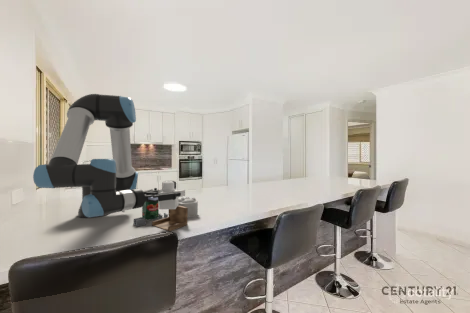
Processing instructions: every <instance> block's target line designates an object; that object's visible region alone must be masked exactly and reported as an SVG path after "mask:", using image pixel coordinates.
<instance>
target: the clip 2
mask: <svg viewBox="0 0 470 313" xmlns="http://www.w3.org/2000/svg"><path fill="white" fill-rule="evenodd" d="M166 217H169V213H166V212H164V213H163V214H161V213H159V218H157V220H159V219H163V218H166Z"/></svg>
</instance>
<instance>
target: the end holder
mask: <svg viewBox="0 0 470 313" xmlns="http://www.w3.org/2000/svg"><path fill="white" fill-rule="evenodd" d="M188 218H189V217H188V207H183V206H177V208H176V209H168V217H166V218H163V219H159V220H158V219H155V220H151V226H153V227H155V226H156V227H155V228H159V229H161V230H165V231H168V232H171V231H175V230H178V229H181V228H183V227H186V226H188V223H189V221H188V220H189V219H188Z"/></svg>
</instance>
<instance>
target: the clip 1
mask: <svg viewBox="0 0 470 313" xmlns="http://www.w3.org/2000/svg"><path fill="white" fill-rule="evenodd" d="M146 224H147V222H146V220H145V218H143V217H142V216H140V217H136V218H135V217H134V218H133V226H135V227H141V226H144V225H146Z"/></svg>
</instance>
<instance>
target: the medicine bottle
mask: <svg viewBox="0 0 470 313" xmlns="http://www.w3.org/2000/svg"><path fill="white" fill-rule="evenodd" d="M161 189H162V190H163V191H162V192H161V193H170V192H174V191H177V182H176V181H175V180H164V181H162V185H161ZM178 199H179V197H177V198H176V199H175V200H173V199H172V200H165V201H159V210H169V209H176V208H177V206H178Z"/></svg>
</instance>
